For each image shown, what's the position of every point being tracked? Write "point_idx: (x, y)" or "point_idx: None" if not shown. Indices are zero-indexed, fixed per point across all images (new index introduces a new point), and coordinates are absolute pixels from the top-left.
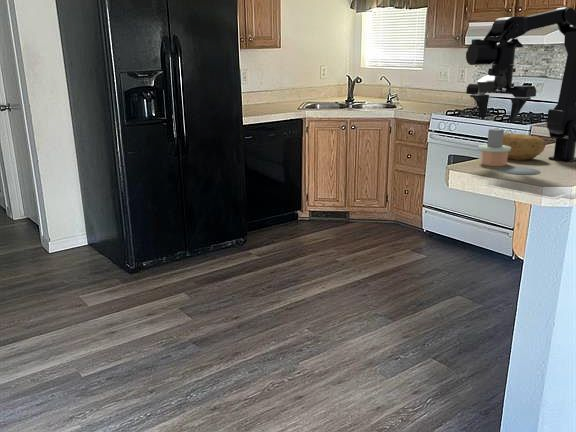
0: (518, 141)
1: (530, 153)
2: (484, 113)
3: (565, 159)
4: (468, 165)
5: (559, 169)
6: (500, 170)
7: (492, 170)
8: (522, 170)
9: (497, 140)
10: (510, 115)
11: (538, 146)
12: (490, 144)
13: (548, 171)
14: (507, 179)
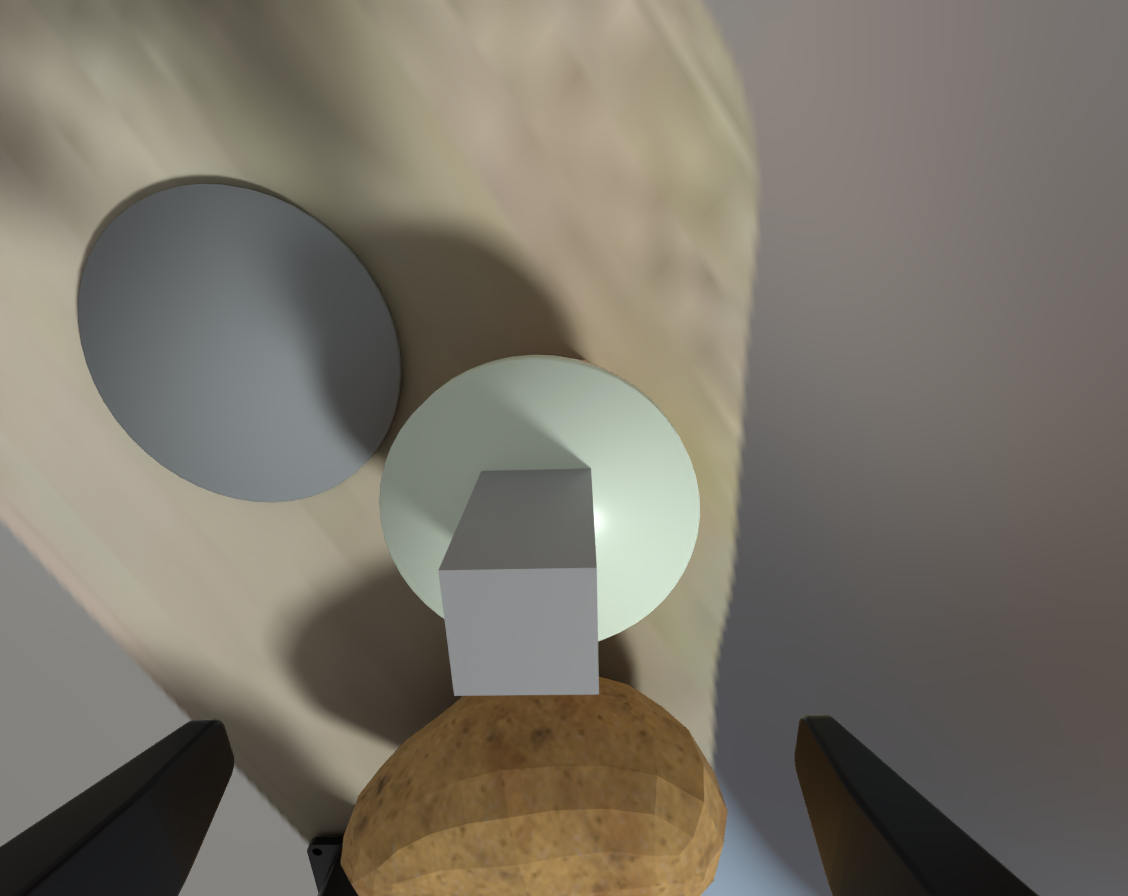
0: (477, 775)
1: (416, 733)
2: (846, 865)
3: (336, 853)
4: (662, 275)
5: (190, 638)
6: (321, 247)
7: (406, 254)
8: (237, 390)
9: (466, 510)
10: (113, 824)
11: (357, 805)
12: (552, 479)
13: (175, 538)
14: (78, 12)
